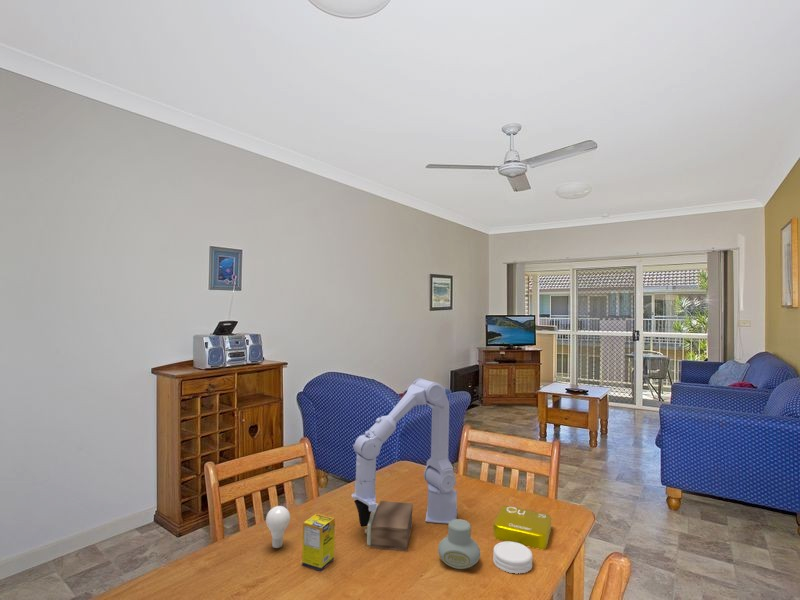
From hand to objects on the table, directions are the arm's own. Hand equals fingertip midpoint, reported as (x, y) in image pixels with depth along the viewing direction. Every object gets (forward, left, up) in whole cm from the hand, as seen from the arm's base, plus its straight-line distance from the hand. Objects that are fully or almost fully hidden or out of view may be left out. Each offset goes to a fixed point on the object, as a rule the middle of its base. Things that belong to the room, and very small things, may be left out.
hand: (364, 525), depth 129 cm
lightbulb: (+22, +10, -3) cm, 24 cm away
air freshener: (-27, +9, -3) cm, 29 cm away
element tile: (-46, -10, -4) cm, 47 cm away
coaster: (-41, +7, -4) cm, 42 cm away
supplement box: (+9, +15, -3) cm, 18 cm away
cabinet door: (-2, -2, -3) cm, 4 cm away
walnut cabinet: (-8, -2, -3) cm, 9 cm away
